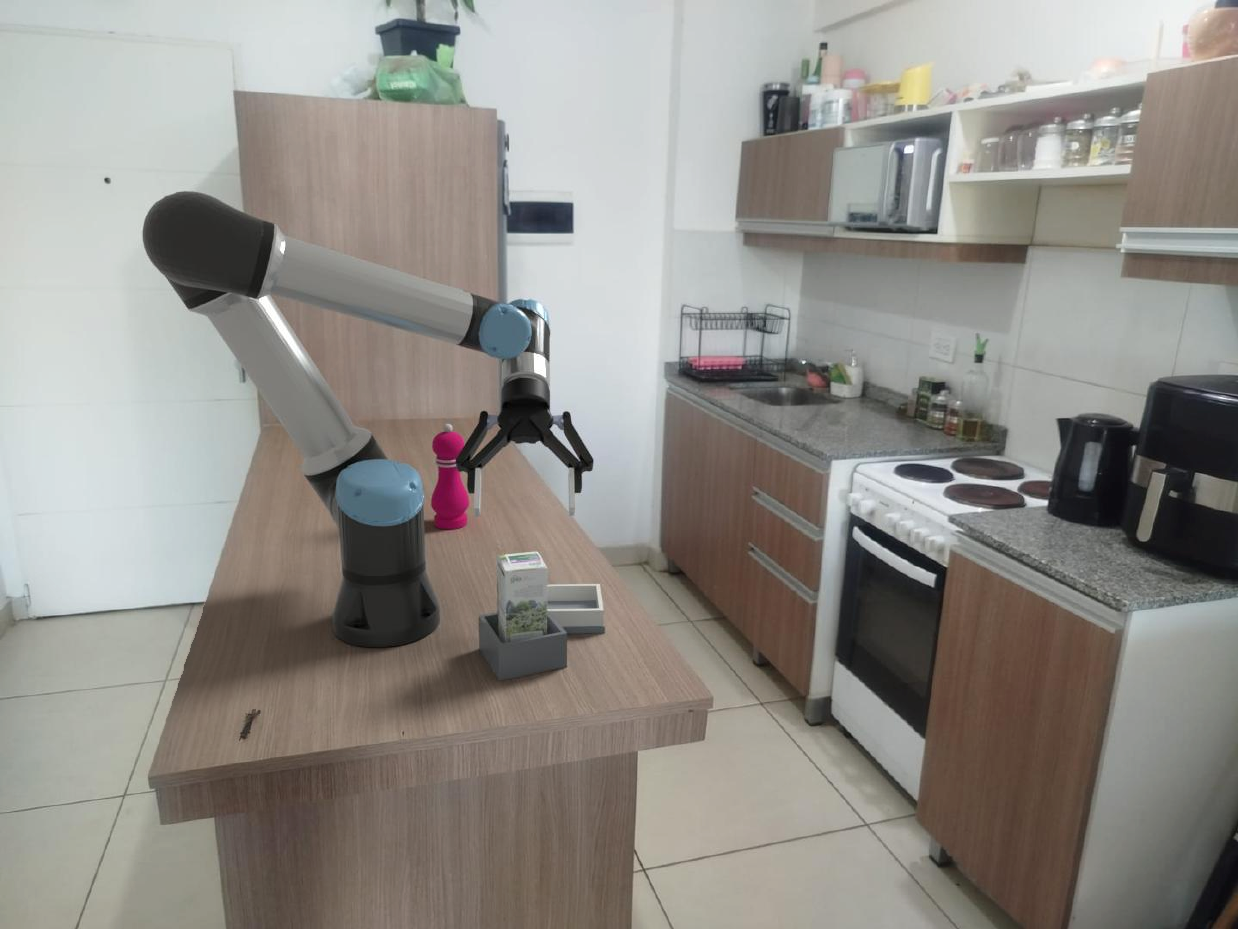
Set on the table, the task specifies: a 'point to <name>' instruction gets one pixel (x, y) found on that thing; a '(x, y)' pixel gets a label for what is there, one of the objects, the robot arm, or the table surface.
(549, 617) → the deep sleeve
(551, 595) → the low tray
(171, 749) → the table surface
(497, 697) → the table surface
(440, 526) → the pepper mill
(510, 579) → the syrup box
